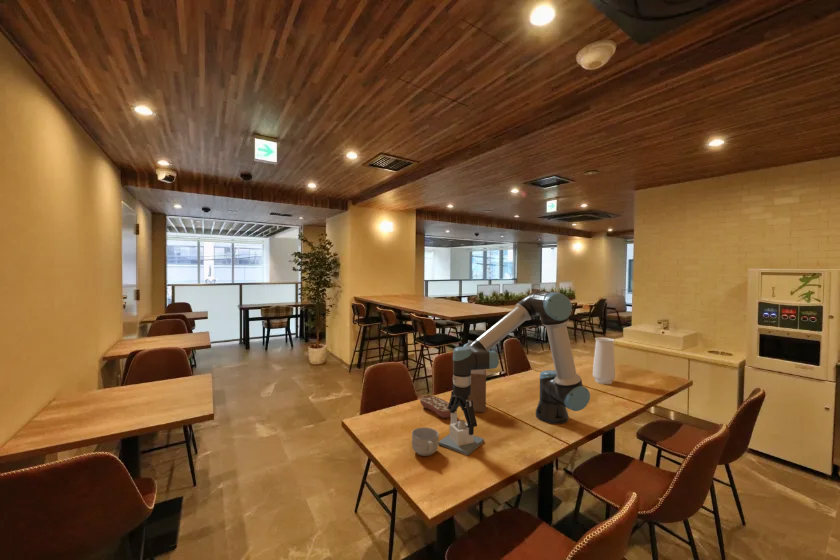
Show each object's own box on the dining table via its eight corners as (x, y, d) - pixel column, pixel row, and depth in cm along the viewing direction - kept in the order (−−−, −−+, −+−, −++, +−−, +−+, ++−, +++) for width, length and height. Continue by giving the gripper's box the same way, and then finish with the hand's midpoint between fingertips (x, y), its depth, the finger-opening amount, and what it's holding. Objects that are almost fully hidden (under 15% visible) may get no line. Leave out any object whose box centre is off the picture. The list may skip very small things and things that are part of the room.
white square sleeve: (458, 446, 142) (458, 431, 142) (449, 438, 149) (449, 424, 149) (477, 441, 146) (477, 427, 146) (468, 433, 153) (468, 420, 152)
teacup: (411, 445, 145) (411, 426, 145) (436, 444, 146) (437, 425, 146) (413, 464, 131) (413, 443, 131) (441, 463, 132) (441, 442, 132)
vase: (619, 385, 220) (620, 341, 219) (598, 385, 220) (599, 341, 219) (608, 378, 233) (609, 337, 232) (588, 378, 233) (589, 337, 232)
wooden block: (485, 413, 177) (485, 374, 176) (465, 411, 179) (465, 373, 178) (485, 405, 187) (486, 368, 186) (467, 404, 189) (467, 367, 188)
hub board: (483, 441, 149) (484, 420, 148) (467, 455, 137) (468, 432, 137) (455, 432, 157) (455, 412, 157) (438, 444, 146) (438, 423, 145)
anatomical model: (416, 407, 186) (416, 397, 185) (431, 402, 191) (431, 393, 191) (443, 422, 167) (443, 412, 166) (459, 417, 172) (459, 407, 172)
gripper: (440, 377, 156) (440, 423, 157) (469, 395, 133) (469, 450, 134) (455, 375, 159) (454, 420, 160) (486, 393, 136) (485, 446, 137)
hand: (461, 434), depth 147 cm, fingers open, 13 cm apart
